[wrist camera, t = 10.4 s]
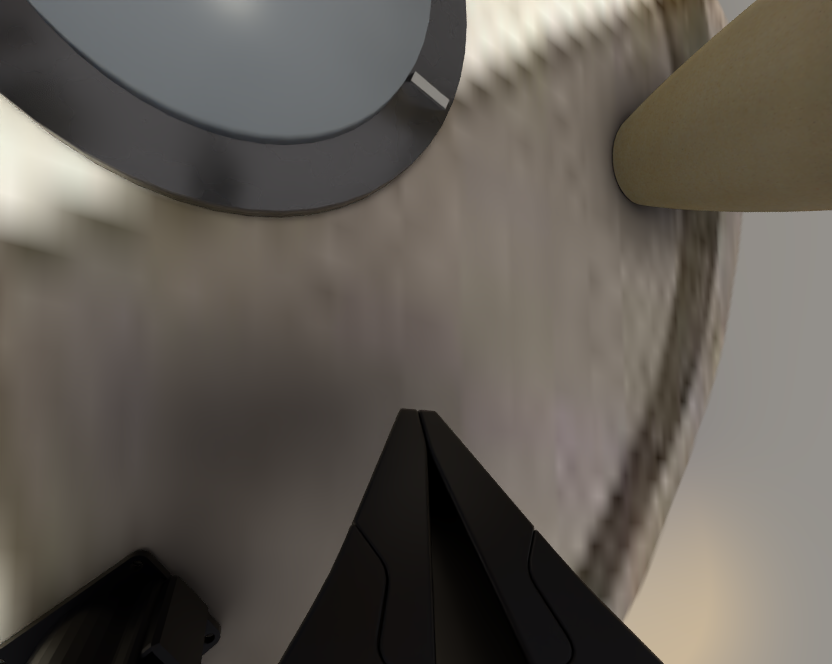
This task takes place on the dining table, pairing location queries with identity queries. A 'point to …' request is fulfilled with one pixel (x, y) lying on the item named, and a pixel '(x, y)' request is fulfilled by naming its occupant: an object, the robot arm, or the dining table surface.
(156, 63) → the dial
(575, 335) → the dining table surface
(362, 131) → the dial plate
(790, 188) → the plant pot
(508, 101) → the dining table surface
